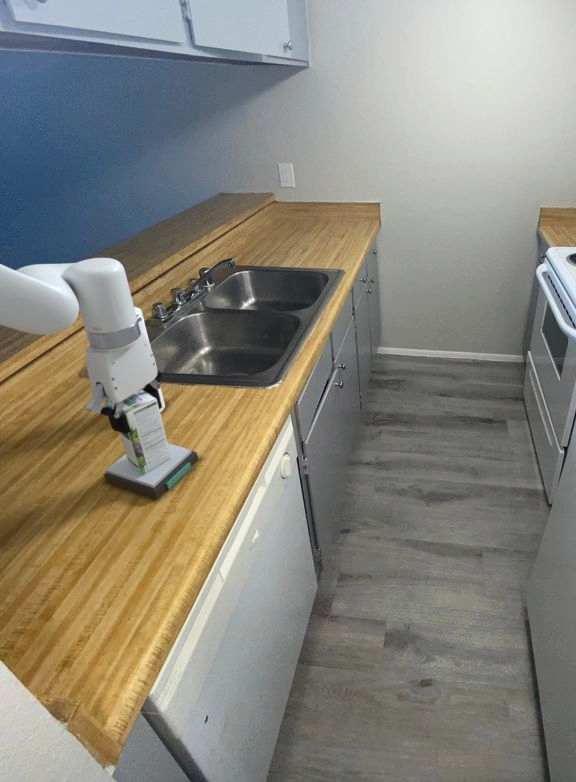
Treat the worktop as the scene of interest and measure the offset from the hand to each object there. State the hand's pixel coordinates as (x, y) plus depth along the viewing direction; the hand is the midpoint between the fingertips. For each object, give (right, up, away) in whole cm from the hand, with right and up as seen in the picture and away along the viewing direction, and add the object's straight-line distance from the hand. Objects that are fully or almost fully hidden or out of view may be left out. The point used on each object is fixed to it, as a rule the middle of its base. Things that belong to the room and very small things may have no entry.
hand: (138, 418), depth 86 cm
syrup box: (0, -9, +5) cm, 10 cm away
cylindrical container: (-11, -3, +23) cm, 26 cm away
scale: (-1, -12, +6) cm, 14 cm away
